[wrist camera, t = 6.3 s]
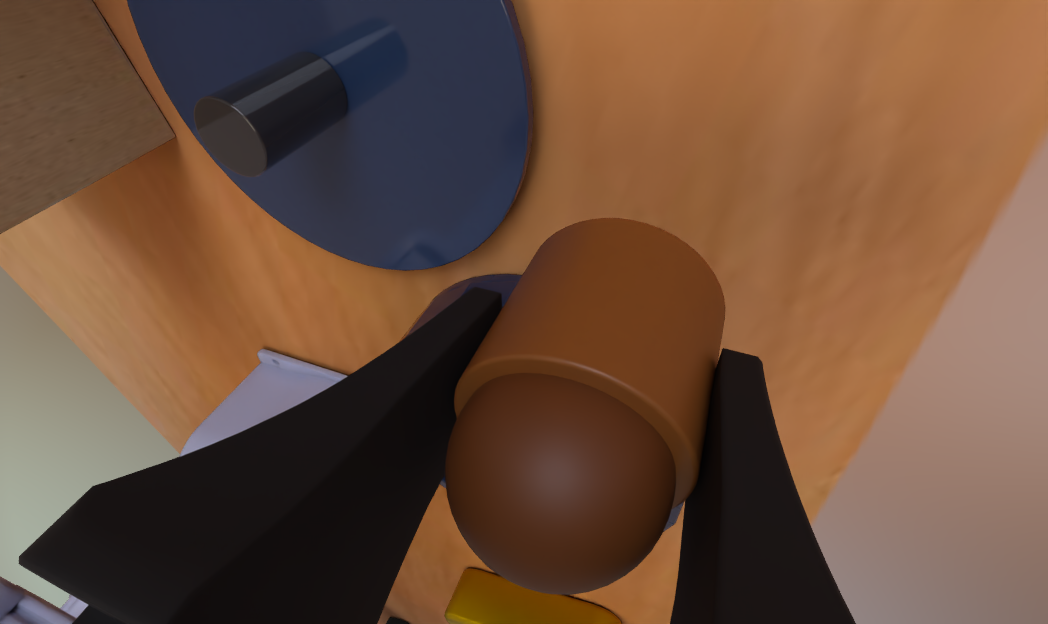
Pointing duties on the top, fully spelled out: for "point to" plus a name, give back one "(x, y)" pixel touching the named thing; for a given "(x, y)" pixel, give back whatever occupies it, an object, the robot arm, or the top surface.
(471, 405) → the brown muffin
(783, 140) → the top surface
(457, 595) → the element tile
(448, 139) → the lid
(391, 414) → the robot arm
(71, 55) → the sandwich container
